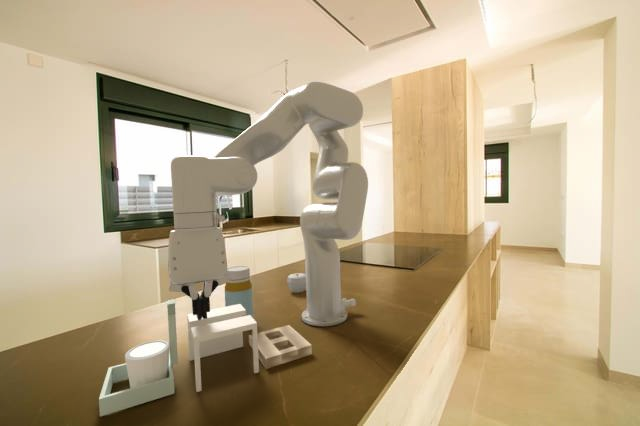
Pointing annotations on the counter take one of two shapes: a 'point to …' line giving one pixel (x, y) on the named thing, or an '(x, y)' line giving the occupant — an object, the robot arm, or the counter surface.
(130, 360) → the white cup
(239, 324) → the tunnel
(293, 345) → the board
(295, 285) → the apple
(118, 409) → the slider
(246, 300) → the bottle
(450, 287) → the counter surface
